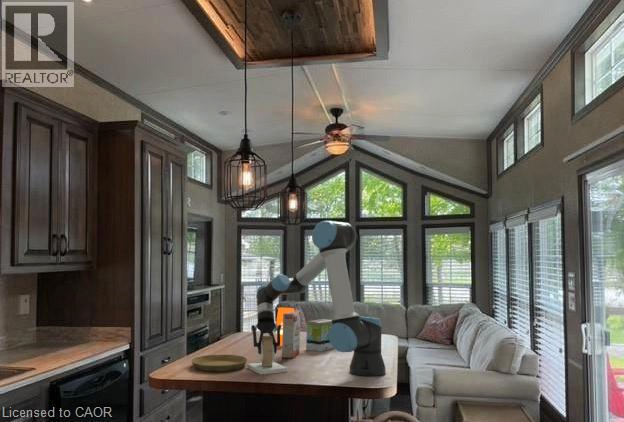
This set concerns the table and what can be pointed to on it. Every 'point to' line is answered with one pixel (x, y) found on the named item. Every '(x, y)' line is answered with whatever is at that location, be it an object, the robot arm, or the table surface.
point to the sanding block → (267, 351)
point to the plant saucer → (219, 362)
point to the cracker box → (291, 334)
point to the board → (267, 368)
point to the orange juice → (281, 321)
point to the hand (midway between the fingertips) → (267, 359)
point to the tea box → (318, 335)
